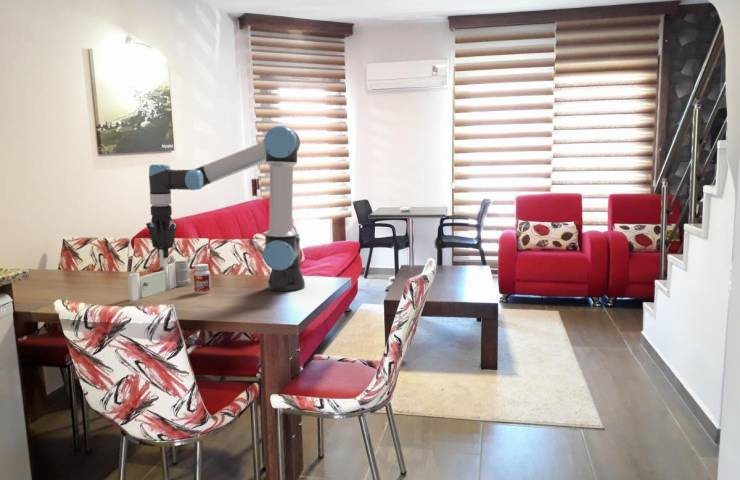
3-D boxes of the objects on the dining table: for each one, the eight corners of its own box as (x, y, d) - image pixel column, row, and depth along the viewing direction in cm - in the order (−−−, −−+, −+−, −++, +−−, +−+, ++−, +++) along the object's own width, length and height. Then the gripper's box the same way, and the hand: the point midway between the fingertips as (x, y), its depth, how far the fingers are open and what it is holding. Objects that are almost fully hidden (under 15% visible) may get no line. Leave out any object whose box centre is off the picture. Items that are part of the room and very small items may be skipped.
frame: (176, 287, 240) (175, 263, 239) (132, 301, 216) (131, 274, 215) (173, 286, 241) (171, 263, 239) (129, 300, 217) (127, 274, 215)
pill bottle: (195, 295, 225) (194, 266, 224) (193, 292, 231) (192, 264, 229) (211, 293, 227) (210, 265, 226) (209, 290, 233) (208, 263, 232)
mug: (179, 287, 239) (177, 259, 238) (162, 284, 246) (160, 256, 245) (194, 284, 245) (193, 256, 244) (177, 281, 252) (176, 254, 251)
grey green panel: (167, 290, 234) (166, 271, 233) (144, 298, 221) (142, 277, 220) (163, 290, 235) (162, 270, 233) (139, 297, 221) (138, 277, 220)
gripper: (181, 204, 220) (183, 265, 223) (153, 204, 224) (156, 263, 227) (168, 206, 213) (171, 268, 216) (140, 205, 217) (143, 266, 220)
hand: (163, 266), depth 222 cm, fingers closed
